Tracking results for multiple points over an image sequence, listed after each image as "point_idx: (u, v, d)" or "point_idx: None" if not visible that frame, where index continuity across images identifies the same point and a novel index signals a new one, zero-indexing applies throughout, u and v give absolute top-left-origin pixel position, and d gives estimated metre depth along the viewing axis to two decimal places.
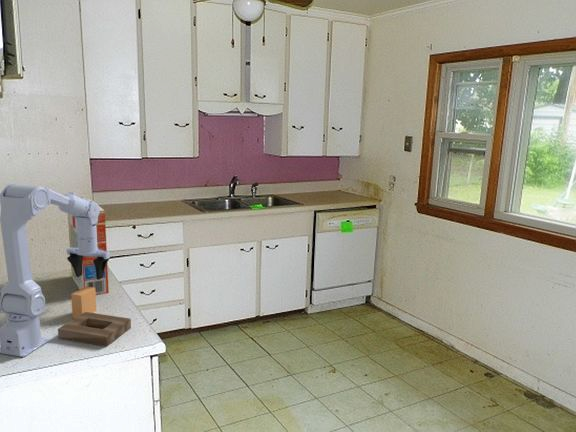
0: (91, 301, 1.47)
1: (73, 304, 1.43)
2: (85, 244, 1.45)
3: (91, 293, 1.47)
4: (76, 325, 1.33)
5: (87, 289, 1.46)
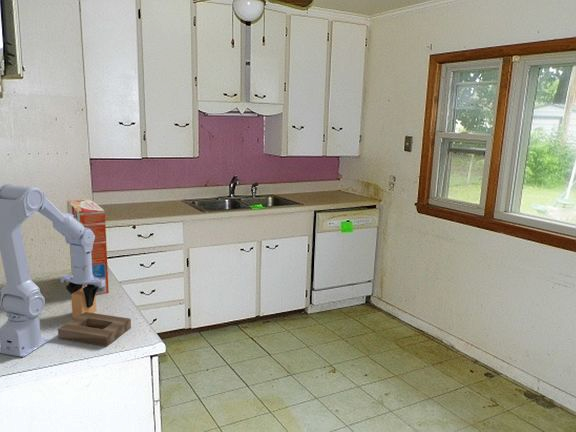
0: None
1: (73, 304, 1.43)
2: (80, 272, 1.41)
3: None
4: (76, 325, 1.33)
5: None
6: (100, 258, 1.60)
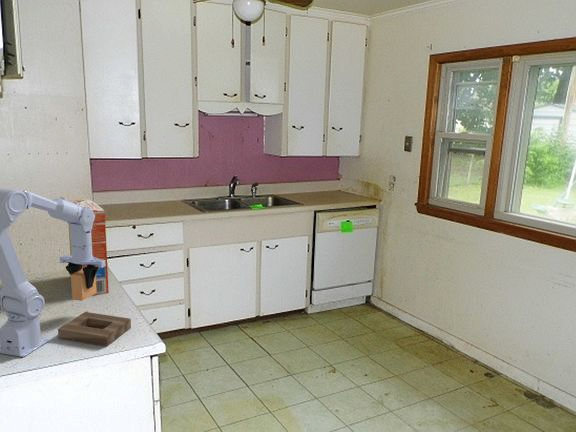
0: None
1: (73, 285, 1.40)
2: (79, 252, 1.38)
3: None
4: (76, 325, 1.33)
5: None
6: (100, 258, 1.60)
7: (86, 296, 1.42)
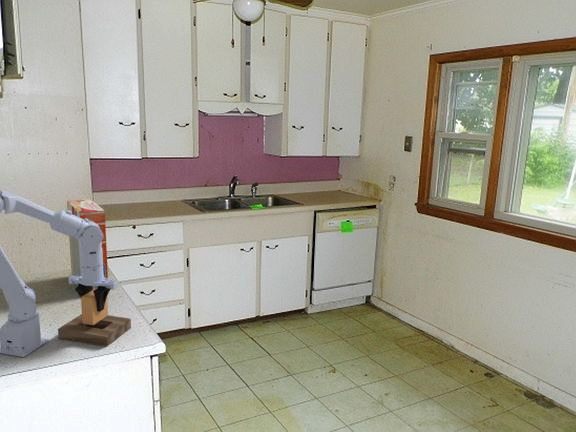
0: None
1: (83, 308, 1.30)
2: (90, 273, 1.28)
3: None
4: (76, 325, 1.33)
5: None
6: None
7: (97, 320, 1.32)
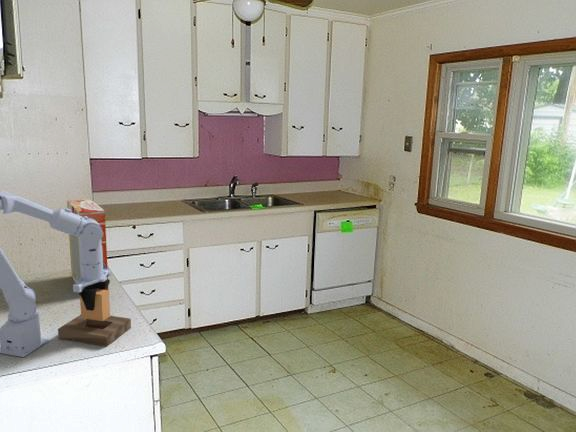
0: (95, 307, 1.31)
1: None
2: None
3: (96, 298, 1.30)
4: (76, 325, 1.33)
5: (97, 292, 1.31)
6: None
7: (87, 316, 1.32)
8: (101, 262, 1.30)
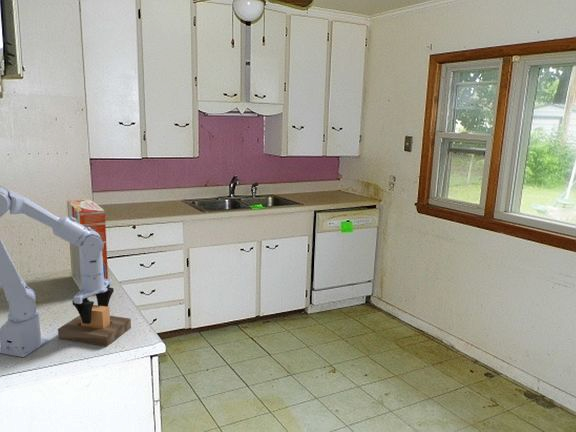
0: (96, 324, 1.32)
1: None
2: None
3: (96, 315, 1.31)
4: (76, 325, 1.33)
5: (98, 309, 1.32)
6: None
7: None
8: (102, 273, 1.31)
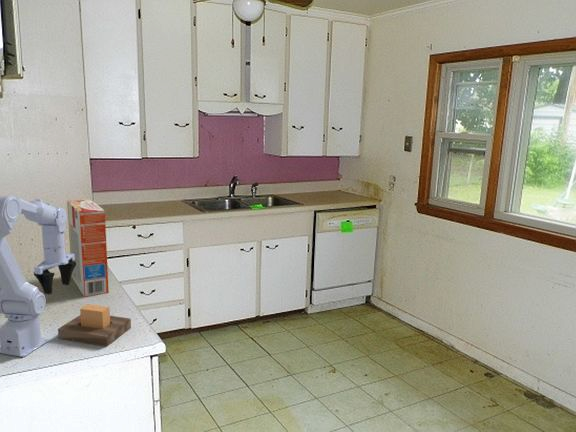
0: (96, 324, 1.32)
1: None
2: None
3: (96, 315, 1.31)
4: (76, 325, 1.33)
5: (98, 309, 1.32)
6: (100, 258, 1.60)
7: None
8: (62, 246, 1.37)
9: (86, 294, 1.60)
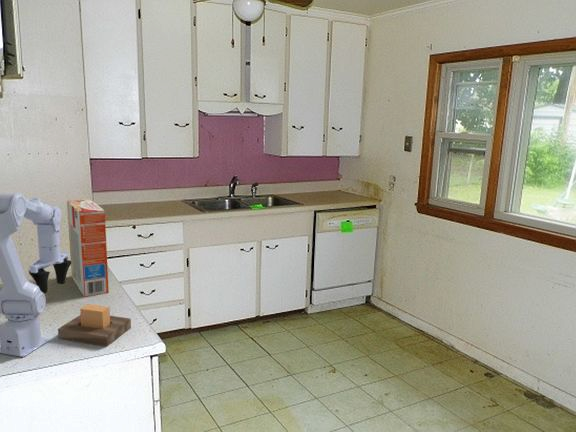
0: (96, 324, 1.32)
1: None
2: None
3: (96, 315, 1.31)
4: (76, 325, 1.33)
5: (98, 309, 1.32)
6: (100, 258, 1.60)
7: None
8: (58, 245, 1.38)
9: (86, 294, 1.60)
